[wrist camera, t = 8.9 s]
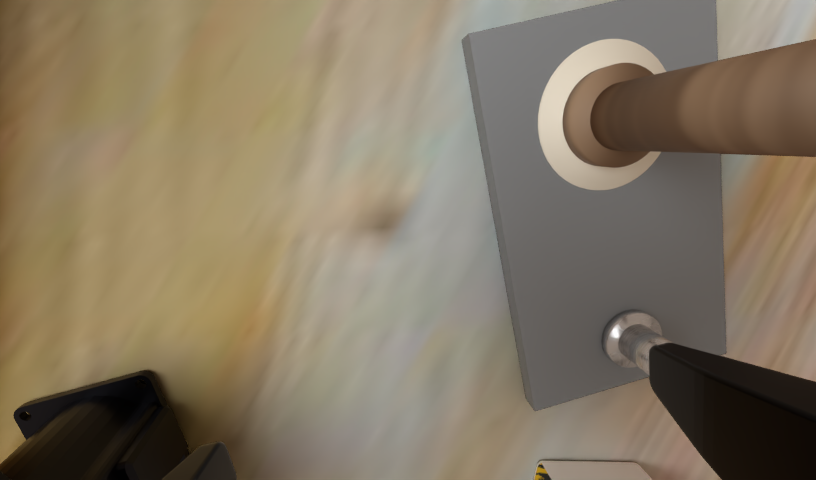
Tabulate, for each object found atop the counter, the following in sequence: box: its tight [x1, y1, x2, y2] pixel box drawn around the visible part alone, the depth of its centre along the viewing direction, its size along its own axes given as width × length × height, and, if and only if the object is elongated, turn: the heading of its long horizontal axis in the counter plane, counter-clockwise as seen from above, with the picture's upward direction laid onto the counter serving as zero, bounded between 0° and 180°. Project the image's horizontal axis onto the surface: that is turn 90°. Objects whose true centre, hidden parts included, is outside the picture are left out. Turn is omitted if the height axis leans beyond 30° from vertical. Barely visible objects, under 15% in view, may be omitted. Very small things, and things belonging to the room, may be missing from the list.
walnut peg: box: [562, 39, 816, 168], centre depth 14 cm, size 5×5×12 cm
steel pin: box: [601, 309, 672, 375], centre depth 21 cm, size 3×3×3 cm
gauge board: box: [462, 0, 726, 411], centre depth 22 cm, size 12×20×1 cm, turn 13°
